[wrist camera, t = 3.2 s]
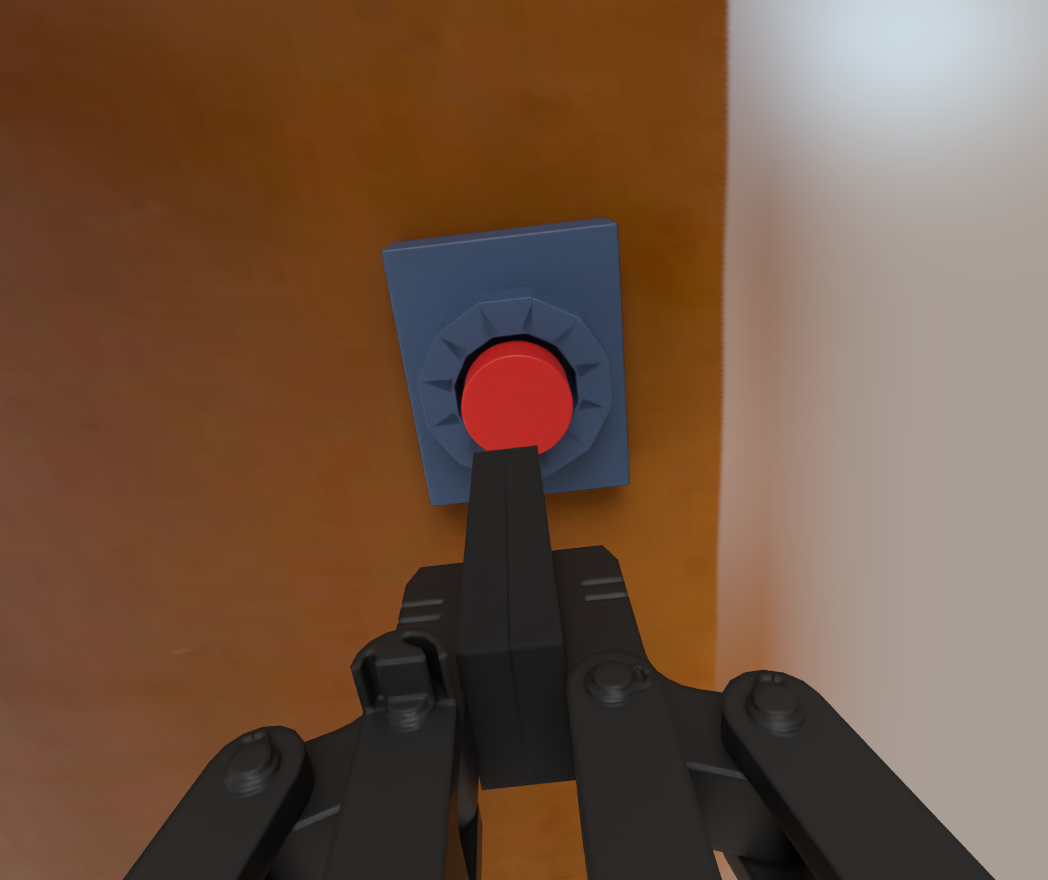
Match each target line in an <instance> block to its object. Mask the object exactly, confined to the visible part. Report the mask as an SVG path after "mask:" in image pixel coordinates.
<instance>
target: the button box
mask: <svg viewBox="0 0 1048 880" xmlns="http://www.w3.org/2000/svg"><path fill="white" fill-rule="evenodd" d="M382 258H383V263H384V268H385V273H386V278H387V283H388V288H389V293H390V298H391V304H392V309H393V314H394V319H395V324H396V329H397V334H398V339H399V344H400V350H401V355H402V360H403V365H404V370H405V375H406V380H407V385H408V390H409V395H410V401H411V406H412V411H413V416H414V421H415V426H416V431H417V436H418V441H419V447H420V452H421V457H422V462H423V467H424V472H425V477H426V482H427V487H428V493H429V498H430V503H431V505H432V506H440V505H449V504H458V503H467V502H469V496H470V485H471V474H472V463H473V452H482V451H487V450H485V449H484V448H482V447H481V446H480V445H479V444H477V442H476V441H475V440H474V439H473V438H472V437H471V435H470V434H469V432H468V431H467V429H466V427H465V424H464V421H463V417H462V411H461V403H462V396H463V390H464V385H465V380H466V376H467V373H468V371H469V369H470V367H471V365H472V364H473V362H474V361H475V360H476V358H477V357H478V356H479V355H480V354H482V353H483V352H484V351H485V350H487V349H488V348H490V347H492V346H494V345H496V344H499V343H502V342H507V341H526V342H531V343H534V344H537V345H539V346H541V347H543V348H545V349H546V350H548V351H549V352H551V353H552V354H553V355H554V356H555V357H556V358H557V359H558V361H559V362H560V363H561V365H562V367H563V369H564V371H565V373H566V376H567V379H568V383H569V387H570V390H571V394H572V399H573V414H572V418H571V422H570V425H569V427H568V429H567V431H566V432H565V434H564V436H563V437H562V438H561V439H560V440H559V441H558V442H557V443H556V444H555V445H554V446H553V447H552V448H550V449H549V450H547V451H545V452H544V453H541V454H539V460H540V468H541V476H542V483H543V491H544V494H550V493H559V492H568V491H577V490H586V489H596V488H605V487H614V486H623V485H629V483H630V477H629V456H628V434H627V413H626V391H625V370H624V348H623V326H622V305H621V283H620V262H619V240H618V224H617V223H616V222H614V221H613V220H611V219H609V218H607V217H604V218H595V219H587V220H578V221H570V222H561V223H553V224H544V225H536V226H528V227H519V228H511V229H502V230H494V231H485V232H477V233H468V234H460V235H451V236H443V237H434V238H426V239H417V240H409V241H400V242H393V243H392V244H390V245H389V246H388V247H386V248H385V249H384V250H382Z"/></svg>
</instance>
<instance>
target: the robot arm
mask: <svg viewBox="0 0 1048 880" xmlns="http://www.w3.org/2000/svg"><path fill="white" fill-rule="evenodd" d="M398 621H399V624H397V628H396V630H395V631H391V632H387V633H385V634H383V635H381V636H380V637H378V638H376V639H374V640H372V641H370V642H369V643H368V644H367V645H366V646H365V647H364V648H363V649H361V650H360V651H359V652H358V653H357V655H356V657H355V659H354V661H353V663H352V664H351V666H350V668H351V671H352V675H353V678H354V681H355V685H356V688H357V692H358V695H359V699H360V702H361V706H362V709H363V715H362V716H360V717H359V718H357V719H356V720H355V721H353V722H352V723H350V724H348V725H346V726H344V727H342V728H340V729H338V730H335V731H333V732H330V733H328V734H325V735H322V736H320V737H317V738H314V739H312V740H309V741H306V742H304V741H303V739H302V738H301V737H300V736H299V735H298V734H297V732H296V731H295V730H292V729H289V728H286V727H283V726H269V727H261V728H258V729H256V730H253V731H250V732H247V733H245V734H242V735H241V736H239V737H238V738H236V739H235V740H233V741H232V742H230V743H229V744H227V745H226V746H224V747H223V748H222V749H221V750H220V751H219V752H218V754H217V755H216V756H215V757H214V758H213V759H212V760H211V761H210V762H209V763H208V765H207V766H206V767H205V769H204V770H203V771H202V773H201V774H200V775H199V777H198V778H197V779H196V781H195V782H194V784H193V785H192V786H191V788H190V789H189V790H188V792H187V793H186V794H185V796H184V797H183V798H182V800H181V801H180V803H179V804H178V805H177V807H176V808H175V809H174V811H173V812H172V813H171V815H170V816H169V818H168V819H167V820H166V822H165V823H164V824H163V826H162V827H161V828H160V830H159V831H158V832H157V834H156V835H155V837H154V838H153V839H152V841H151V842H150V843H149V845H148V846H147V847H146V849H145V850H144V851H143V853H142V854H141V856H140V857H139V858H138V860H137V861H136V862H135V864H134V865H133V866H132V868H131V869H130V870H129V872H128V873H127V875H126V876H125V877H124V879H123V880H481V865H482V821H481V815H480V810H479V805H478V780H479V777H480V782H481V787H482V790H487V789H496V788H506V787H515V786H524V785H533V784H543V783H552V782H561V781H571V780H576V785H577V794H578V803H579V812H580V821H581V830H582V839H583V848H584V854H585V863H586V871H587V879H588V880H722V878H721V875H720V872H719V869H718V865H717V862H716V859H715V856H714V852H713V850H716V851H720V852H723V853H724V856H725V858H726V860H727V862H728V864H729V865H730V867H731V869H732V870H733V872H734V874H735V876H736V877H737V879H738V880H995V879H994V878H993V877H992V876H991V875H990V874H989V873H988V871H987V870H986V869H985V868H984V867H983V866H982V865H981V864H980V863H979V862H978V861H977V860H976V859H975V858H974V857H973V856H972V855H971V853H970V852H969V851H967V850H966V848H965V847H964V846H963V845H962V844H961V843H960V842H959V841H958V840H957V839H956V838H955V837H954V835H952V833H951V832H950V831H949V830H948V829H947V828H946V827H945V826H944V825H943V824H942V823H941V822H940V821H939V820H938V819H937V818H936V816H935V815H934V814H933V813H932V812H931V811H930V810H929V809H928V808H927V807H926V806H925V805H924V804H923V803H922V802H921V801H920V800H919V798H917V796H916V795H915V794H914V793H913V792H912V791H911V790H910V789H909V788H908V787H907V786H906V785H905V784H904V783H903V782H902V781H901V779H900V778H899V777H898V776H897V775H896V774H895V773H894V772H893V771H892V770H891V769H890V768H889V767H888V766H887V765H886V764H885V763H884V762H883V760H882V759H881V758H880V757H879V756H878V755H877V754H876V753H875V752H874V751H873V750H872V749H871V748H870V747H869V746H868V745H867V743H866V742H865V741H864V740H863V739H862V738H861V737H860V736H859V735H858V734H857V733H856V732H855V731H854V730H853V729H852V728H851V727H850V726H849V724H848V723H847V722H846V721H845V720H844V719H843V718H842V717H841V716H840V715H839V714H838V713H837V712H836V711H835V710H834V709H833V707H831V705H830V704H829V703H828V702H827V701H826V700H825V699H824V698H823V697H822V696H821V695H820V694H819V693H818V692H817V691H815V690H814V689H813V688H812V687H810V686H809V685H808V684H806V683H805V682H804V681H802V680H800V679H797V678H795V677H793V676H790V675H788V674H785V673H782V672H775V671H768V670H759V671H751V672H745V673H743V674H741V675H739V676H737V677H736V678H734V679H732V680H730V682H729V683H728V685H727V686H726V688H725V689H724V691H723V692H722V693H721V692H715V691H708V690H702V689H696V688H692V687H688V686H683V685H680V684H678V683H676V682H674V681H672V680H669V679H668V678H666V677H665V676H663V675H662V674H661V673H659V672H658V671H657V670H656V669H655V668H654V667H653V665H652V664H651V663H650V662H649V660H648V658H647V656H646V653H645V650H644V647H643V644H642V640H641V637H640V634H639V630H638V627H637V623H636V620H635V617H634V613H633V610H632V606H631V603H630V600H629V597H628V593H627V590H626V586H625V583H624V581H623V576H622V573H621V569H620V566H619V562H618V559H616V558H615V557H614V556H613V555H612V554H611V553H610V552H609V551H608V550H607V549H606V548H605V547H604V546H603V545H600V546H591V547H582V548H573V549H564V550H555V551H551V544H550V536H549V529H548V521H547V513H546V506H545V498H544V491H543V483H542V476H541V468H540V460H539V453H538V445H534V446H526V447H517V448H508V449H499V450H491V451H482V452H473V463H472V474H471V485H470V496H469V507H468V518H467V529H466V540H465V551H464V561H463V563H456V564H447V565H438V566H429V567H420V569H419V570H418V571H417V572H416V574H415V575H414V576H413V577H412V578H411V580H410V581H409V582H408V583H407V585H406V588H405V592H404V597H403V601H402V608H401V610H400V615H399V619H398Z"/></svg>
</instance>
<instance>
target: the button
mask: <svg viewBox="0 0 1048 880" xmlns="http://www.w3.org/2000/svg"><path fill="white" fill-rule="evenodd" d="M461 411H462V417H463V421H464V424H465V427H466V429H467V431H468V432H469V434H470V435H471V437H472V438H473V439H474V440H475V441H476V442H477V444H479V445H480V446H481V447H482V448H484V449H485V450H487V451H491V450H499V449H508V448H517V447H526V446H534V445H538V453H539V454H541V453H544V452H545V451H547V450H549V449H550V448H552V447H553V446H554V445H555V444H556V443H557V442H558V441H559V440H560V439H561V438H562V437H563V436H564V434H565V432H566V431H567V429H568V427H569V425H570V422H571V418H572V414H573V399H572V394H571V390H570V387H569V383H568V379H567V376H566V373H565V371H564V369H563V367H562V365H561V363H560V362H559V361H558V359H557V358H556V357H555V356H554V355H553V354H552V353H551V352H549V351H548V350H546V349H545V348H543V347H541V346H539V345H537V344H534V343H531V342H526V341H507V342H502V343H499V344H496V345H494V346H492V347H490V348H488V349H487V350H485V351H484V352H483V353H482V354H480V355H479V356H478V357H477V358H476V360H475V361H474V362H473V364H472V365H471V367H470V369H469V371H468V373H467V376H466V380H465V385H464V390H463V396H462V403H461Z"/></svg>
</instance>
